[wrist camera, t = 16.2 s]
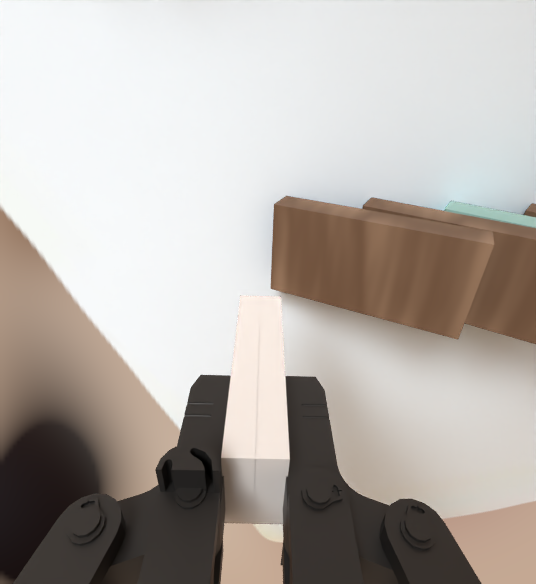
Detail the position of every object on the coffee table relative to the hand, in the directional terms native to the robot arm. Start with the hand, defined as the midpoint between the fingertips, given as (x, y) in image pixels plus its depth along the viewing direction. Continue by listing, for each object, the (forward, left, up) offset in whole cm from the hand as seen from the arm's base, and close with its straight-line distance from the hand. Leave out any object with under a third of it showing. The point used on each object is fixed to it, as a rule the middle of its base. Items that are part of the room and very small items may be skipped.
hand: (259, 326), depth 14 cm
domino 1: (0, +1, -8) cm, 8 cm away
